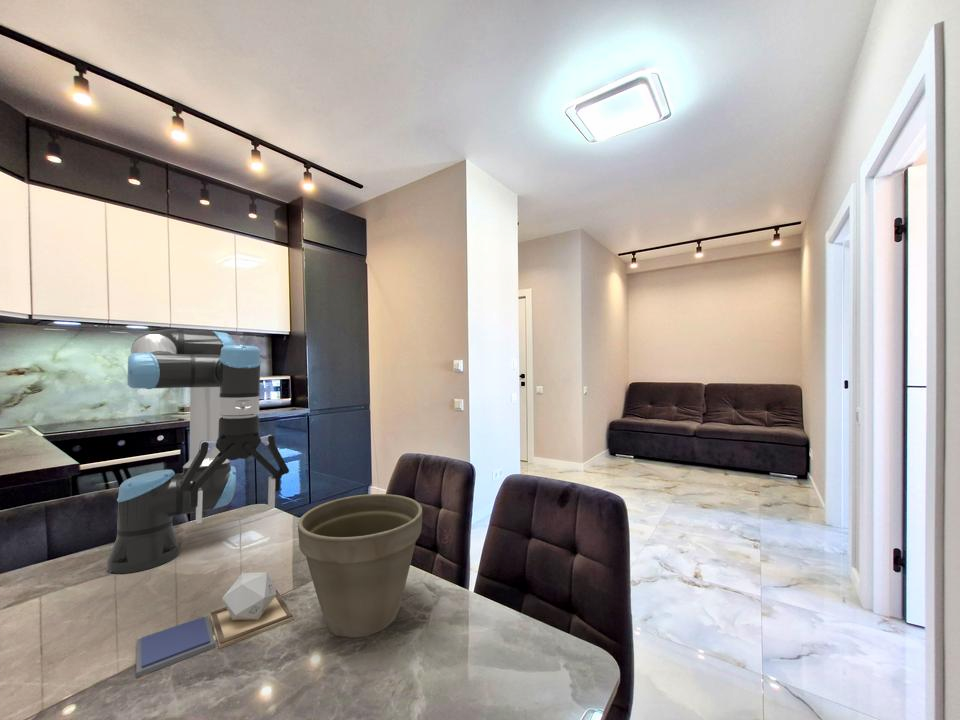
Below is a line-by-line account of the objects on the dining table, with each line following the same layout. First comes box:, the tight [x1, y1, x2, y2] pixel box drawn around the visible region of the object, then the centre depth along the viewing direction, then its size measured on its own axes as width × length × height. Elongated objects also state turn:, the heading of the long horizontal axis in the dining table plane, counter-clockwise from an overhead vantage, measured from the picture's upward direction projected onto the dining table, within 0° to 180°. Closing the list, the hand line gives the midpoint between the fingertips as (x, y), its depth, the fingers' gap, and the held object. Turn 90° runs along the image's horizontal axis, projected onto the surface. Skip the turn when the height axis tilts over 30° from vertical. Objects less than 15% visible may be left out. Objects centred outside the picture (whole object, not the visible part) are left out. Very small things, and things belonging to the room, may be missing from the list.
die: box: [222, 572, 277, 620], centre depth 81 cm, size 8×9×10 cm
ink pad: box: [135, 615, 216, 678], centre depth 73 cm, size 11×11×1 cm
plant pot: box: [297, 493, 423, 639], centre depth 82 cm, size 25×25×22 cm
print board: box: [209, 589, 295, 650], centre depth 81 cm, size 13×13×1 cm
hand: (237, 513), depth 85 cm, fingers open, 13 cm apart
